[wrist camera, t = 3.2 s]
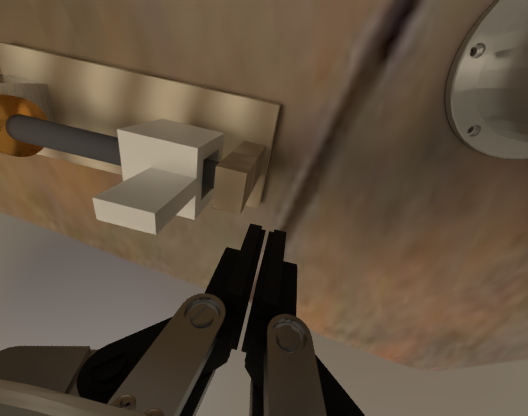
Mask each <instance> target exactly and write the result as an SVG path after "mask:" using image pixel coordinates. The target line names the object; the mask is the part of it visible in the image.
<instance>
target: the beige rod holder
mask: <svg viewBox="0 0 528 416" xmlns="http://www.w3.org/2000/svg"><path fill="white" fill-rule="evenodd" d="M0 68H1V71H2V74H8V75H12V76H16V77H21V78H25V79H29V80H34V81H38V82H42V83H46V84H47V86H48V90H49V94H50V98H51V102H52V106H53V110H54V115H55V119H56V123H59V124H64V125H68V126H72V127H76V128H80V129H84V130H89V131H93V132H97V133H101V134H105V135H109V136H114V137H118V134H117V129H120V128H124V127H129V126H133V125H137V124H142V123H146V122H151V121H155V120H159V119H166V120H171V121H175V122H179V123H183V124H188V125H192V126H196V127H201V128H205V129H209V130H213V131H218V132H222V133H224V142H223V152H222V161H221V162H220V163H219V164H217V165H216V169H215V181H214V192H213V203H212V208H216V209H220V210H224V211H228V212H232V213H236V214H241V212H242V210H243V208H244V206H245V205H246V206H250V207H254V208H259V206H260V203H261V199H262V194H263V189H264V185H265V180H266V175H267V170H268V165H269V160H270V156H271V151H272V146H273V141H274V136H275V132H276V127H277V122H278V117H279V112H280V108H281V104H278V103H274V102H269V101H265V100H261V99H256V98H252V97H247V96H243V95H238V94H234V93H229V92H225V91H220V90H216V89H211V88H207V87H202V86H198V85H194V84H189V83H185V82H180V81H176V80H171V79H167V78H162V77H158V76H153V75H149V74H144V73H140V72H135V71H131V70H126V69H122V68H118V67H113V66H109V65H104V64H100V63H95V62H91V61H86V60H82V59H77V58H73V57H68V56H64V55H59V54H55V53H50V52H46V51H42V50H37V49H33V48H28V47H24V46H19V45H15V44H10V43H3V42H0ZM37 154H39V155H44V156H48V157H52V158H56V159H60V160H64V161H68V162H72V163H76V164H80V165H84V166H88V167H92V168H96V169H100V170H104V171H108V172H112V173H116V174H120V175H122V166H119V165H115V164H110V163H106V162H102V161H98V160H94V159H90V158H86V157H82V156H78V155H74V154H70V153H66V152H62V151H58V150H53V149H49V148H45V147H44V148H43V149H42V150H41V151H40V152H38V153H37Z"/></svg>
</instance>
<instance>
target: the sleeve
mask: <svg viewBox="0 0 528 416" xmlns="http://www.w3.org/2000/svg"><path fill="white" fill-rule="evenodd" d="M117 134H118V142H119V150H120V158H121V166H122V175H123V182H121V183H120V184H118V185H116V186H114V187H112V188H110V189H108V190H106V191H104V192H102V193H100V194H98V195H97V196H95V197H93V203H94V208H95V213H96V218H97V220H101V221H105V222H109V223H112V224H116V225H120V226H124V227H128V228H132V229H136V230H139V231H143V232H147V233H151V234H155V235H156V234H157V233H158V232H159V231H160V230H161V229H162V228H163V227H164V226H165V225H166V224H167V223H168V222H169V221H170V220H171V219H172V218H173V217H174V216H175V215H178V216H182V217H186V218H190V219H193V220H195V218H196V217H197V216H198V215H199V214H200V212H201V211H202V210H203V209H204V208H205V206H206V205H207V204H208V203H209V202H210V200H211V199H212V198H213V192H214V189H212V188H208V187H204V186H202V176H203V160H204V159H210V160H214V161H218V162H221V161H222V152H223V142H224V133H222V132H218V131H213V130H209V129H205V128H201V127H196V126H192V125H188V124H183V123H179V122H175V121H171V120H166V119H159V120H155V121H151V122H146V123H142V124H137V125H133V126H129V127H124V128H120V129H117Z"/></svg>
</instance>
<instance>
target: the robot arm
mask: <svg viewBox="0 0 528 416" xmlns="http://www.w3.org/2000/svg"><path fill="white" fill-rule="evenodd" d="M471 49H473V53H472V55H471V56H470V51H471ZM445 108H446V113H447V117H448V121H449V123H450V125H451V127H452V129H453V131H454V133H455V134H456V135H457V136H458V137H459V138H460V140H461V141H462V142H463V143H464V144H466V145H468V146H469V147H471V148H472V149H474V150H476V151H479V152H481V153H484V154H486V155H489V156H493V157H498V158H502V159H519V160H521V159H528V0H495V1H494V2H493V3H492V4H491V6H490V7H489V8H488V9H487V10H486V11H485V12H484V13H483V14H482V15H481V16H480V18H479V19H478V20H477V22H476V23H475V25H474V26H473V27H472V29H471V30H470V31H469V33H468V34H467V36H466V37H465V39H464V41H463V43H462V45H461V46H460V48H459V50H458V52H457V54H456V56H455V58H454V61H453V64H452V67H451V69H450V72H449V75H448V80H447V85H446V91H445ZM469 128H470V130H469V131H468V129H469ZM261 228H262V226H259V225H255V224H250V226H249V229H248V231H247V234H246V237H245V239H244V242H243V245H242V247H241V250H236V249H232V248H228V247H227V248H226V249H225V251H224V253H223V255H222V257H221V260H220V262H219V264H218V266H217V268H216V270H215V272H214V274H213V277H212V279H211V281H210V283H209V285H208V287H207V289H206V291H205V294H197V295H194V296H192V297H190V298H188V299H187V300H186V301H185V302H184V303H183V304H182V305H181V307H180V308H179V309H178V311H177V312H176V313H175V315H174V316H173V317H171V318H169V319H166V320H164V321H162V322H160V323H157V324H155V325H152V326H150V327H148V328H146V329H143V330H141V331H139V332H137V333H134V334H132V335H129V336H127V337H125V338H123V339H120V340H118V341H115V342H113V343H111V344H109V345H107V346H105V347H103V348H101V349H99V350H91V349H90V346H16V347H10V348H7V349H4V350H1V351H0V416H196V413H197V411H198V409H199V407H200V405H201V402H202V400H203V398H204V396H205V393H206V391H207V389H208V387H209V385H210V382H211V380H212V378H213V376H214V373H215V370H216V369H217V368H218V367H220V366H222V365H223V364H224V363H226V362H227V360H228V358H229V356H230V352H231V349H235V350H237V347H238V343H239V338H240V335H241V331H242V326H243V323H244V318H245V314H246V310H247V306H248V302H249V298H250V294H251V290H252V286H253V282H254V278H255V274H256V269H257V265H258V261H259V257H260V252H261V248H262V244H263V240H264V235H265V231H266V230H262V229H261ZM285 240H286V232H283V231H279V230H274V232H270V231H269V235H268V239H267V243H266V247H265V251H264V255H263V259H262V263H261V267H260V271H259V275H258V280H257V284H256V288H255V293H254V297H253V302H252V306H251V310H250V315H249V319H248V324H247V328H246V332H245V337H244V341H243V346H242V350H241V351H243V352H246V358H245V368H246V370H247V372H248V373H249V375H250V377H251V385H250V386H251V387H250V409H249V416H365V415H364V414H363V413H362V411H361V410H360V409H359V408H358V406H357V405H356V404H355V403H354V402H353V400H352V399H351V398H350V397H349V395H348V394H347V393H346V392H345V390H344V389H343V388H342V387H341V385H340V384H339V383H338V382H337V380H336V379H335V378H334V377H333V376H332V374H331V373H330V372H329V371H328V369H327V368H326V367H325V366H324V364H323V363H322V362H321V361H320V360H319V358H318V357H317V356H316V355H315V351H314V347H313V341H312V336H311V333H310V330H309V329H308V327H307V326H306V324H305V323H304V322H303V321H302V320H301V319H299V318H297V317H296V302H297V264H293V263H289V262H285V261H283V259H284V249H285Z"/></svg>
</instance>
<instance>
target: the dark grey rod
mask: <svg viewBox="0 0 528 416" xmlns="http://www.w3.org/2000/svg"><path fill="white" fill-rule="evenodd" d="M5 127H6V131H7V133H8V134H9V136H10V137H12V138H13V139H15V140H17V141H21V142H25V143H29V144H33V145H37V146H41V147H45V148H49V149H53V150H58V151H62V152H66V153H70V154H74V155H78V156H82V157H86V158H90V159H94V160H98V161H102V162H106V163H110V164H115V165H119V166H121V158H120V150H119V142H118V137H114V136H109V135H105V134H101V133H97V132H93V131H89V130H84V129H80V128H76V127H72V126H68V125H64V124H59V123H55V122H51V121H47V120H43V119H38V118H34V117H30V116H26V115H22V114H15V115H12V116H10V117H9V118H8V119H7V121H6V124H5ZM219 163H220V162H218V161H214V160H210V159H204V160H203V176H202V186H204V187H208V188H212V189H214V181H215V169H216V165H217V164H219Z"/></svg>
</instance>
